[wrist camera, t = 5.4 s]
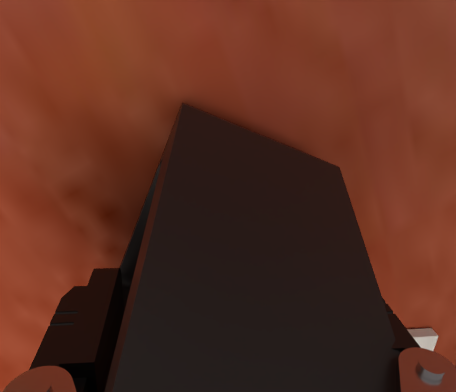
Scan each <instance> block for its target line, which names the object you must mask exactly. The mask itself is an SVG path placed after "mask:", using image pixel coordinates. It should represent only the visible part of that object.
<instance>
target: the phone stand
mask: <svg viewBox="0 0 456 392" xmlns="http://www.w3.org/2000/svg"><path fill="white" fill-rule="evenodd" d="M120 269H121V274H122V289H123V304H124V315H123V319H122V323H121V327H120V331H119V335H118V339H117V343H116V347H115V351H114V354H113V357H112V360H111V364H110V367H109V370H108V373H107V376H106V379H105V382H104V385H103V389H102V392H396V365H397V361H398V358H399V355H400V351H398V350H394V349H391V347H392V345H393V344H394V342H395V340H396V339H395V336H394V333H393V330H392V327H391V324H390V321H389V318H388V315H387V312H386V309H385V305H384V302H383V299H382V296H381V293H380V290H379V287H378V284H377V281H376V278H375V275H374V272H373V269H372V266H371V263H370V260H369V257H368V254H367V250H366V247H365V244H364V241H363V238H362V235H361V232H360V229H359V226H358V223H357V220H356V217H355V214H354V211H353V208H352V205H351V202H350V198H349V195H348V192H347V189H346V186H345V183H344V180H343V177H342V174H341V171H340V168H339V167H338V166H335V165H333V164H330V163H328V162H326V161H323V160H321V159H318V158H316V157H313V156H311V155H309V154H306V153H304V152H301V151H299V150H296V149H294V148H291V147H289V146H287V145H284V144H282V143H279V142H277V141H274V140H272V139H270V138H267V137H265V136H262V135H260V134H257V133H255V132H253V131H250V130H248V129H245V128H243V127H240V126H238V125H235V124H233V123H231V122H228V121H226V120H223V119H221V118H218V117H216V116H214V115H211V114H209V113H206V112H204V111H201V110H199V109H196V108H194V107H192V106H189V105H187V104H184V103H182V105H181V107H180V110H179V112H178V115H177V118H176V120H175V123H174V126H173V128H172V131H171V134H170V136H169V139H168V142H167V144H166V147H165V149H164V152H163V155H162V157H161V160H160V163H159V165H158V168H157V171H156V173H155V176H154V178H153V181H152V184H151V186H150V189H149V192H148V194H147V197H146V200H145V202H144V205H143V208H142V210H141V213H140V216H139V219H138V221H137V223H136V226H135V229H134V231H133V234H132V237H131V239H130V242H129V244H128V247H127V250H126V252H125V255H124V258H123V260H122V263H121V266H120Z"/></svg>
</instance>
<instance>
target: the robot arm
mask: <svg viewBox="0 0 456 392" xmlns="http://www.w3.org/2000/svg"><path fill="white" fill-rule="evenodd" d="M382 299H383V298H382ZM383 302H384V305H385V309H386V312H387V315H388V318H389V321H390V324H391V327H392V330H393V333H394V336H395V339H396V340H395V342H394V344H393V345H392V347H391V349H394V350H398V351H400V355H399V358H398V361H397V365H396V392H456V366H455V365H454V364H453V363H452V362H450V361H449V360H448V359H446V358H445V357H443V356H442V355H440V354H438V353H436V352H434V351H431V350H428V349H424V348H421V347H420V346H419V345H418V343H417V342H416V341H415V339H414V338H413V337H412V336H411V334H410V333H409V332H408V330H407V329H406V328H405V326H404V325H403V324H402V323H401V321H400V320H399V319H398V317H397V316H396V315H395V314H393V311H392V310H391V308H390V307H389V306H388V304H385V300H384V299H383ZM123 315H124V304H123V289H122V274H121V269H120V268H103V269H94V270H93V272H92V275H91V278H90V280H89V283H88V286H74V287H73V288H72V289H71V290H70V291H69V292H68V293H67V294H66V295H64V296H63V297H62V298H61V300H60V303H59V305H58V307H57V309H56V311H55V314H54V316H53V318H52V320H51V322H50V326H49V327H48V329H47V331H46V334H45V336H44V338H43V340H42V342H41V345H40V347H39V349H38V351H37V353H36V356H35V358H34V360H33V362H32V365H31V367H30V369H29V370H28V371H26V372H24V373H22V374H21V375H19V376H18V377H16V378H15V379H14V380H12V381H11V382H10V383H9V384H8V385H7V386H6V388H5V389H4V391H3V392H102V389H103V385H104V382H105V379H106V376H107V373H108V370H109V367H110V364H111V360H112V357H113V354H114V351H115V347H116V343H117V339H118V335H119V331H120V327H121V323H122V319H123Z"/></svg>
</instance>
